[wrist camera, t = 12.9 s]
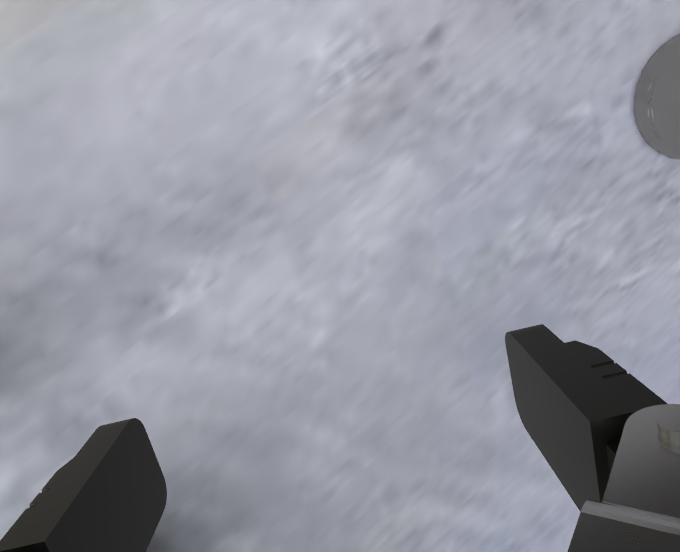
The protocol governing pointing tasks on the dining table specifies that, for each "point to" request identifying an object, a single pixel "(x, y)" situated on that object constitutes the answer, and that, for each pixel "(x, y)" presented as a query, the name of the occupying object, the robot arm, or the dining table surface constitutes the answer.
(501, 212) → the dining table surface
